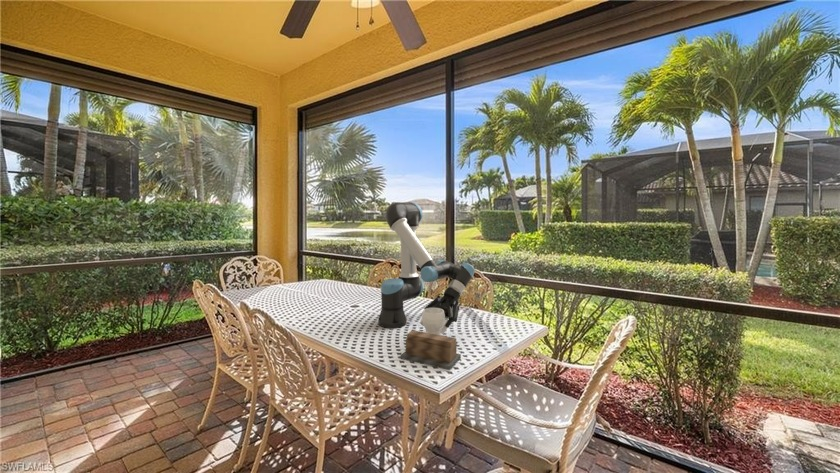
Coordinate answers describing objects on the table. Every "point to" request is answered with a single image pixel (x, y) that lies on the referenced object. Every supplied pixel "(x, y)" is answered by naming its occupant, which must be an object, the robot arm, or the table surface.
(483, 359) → the table surface
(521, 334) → the table surface
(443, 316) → the cup
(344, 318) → the table surface
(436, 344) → the brown wooden block
